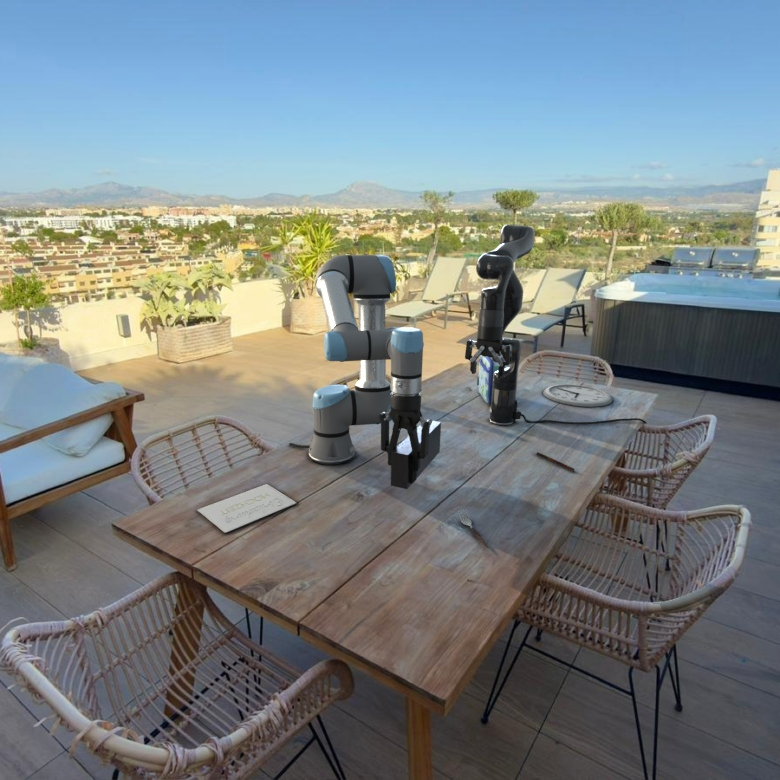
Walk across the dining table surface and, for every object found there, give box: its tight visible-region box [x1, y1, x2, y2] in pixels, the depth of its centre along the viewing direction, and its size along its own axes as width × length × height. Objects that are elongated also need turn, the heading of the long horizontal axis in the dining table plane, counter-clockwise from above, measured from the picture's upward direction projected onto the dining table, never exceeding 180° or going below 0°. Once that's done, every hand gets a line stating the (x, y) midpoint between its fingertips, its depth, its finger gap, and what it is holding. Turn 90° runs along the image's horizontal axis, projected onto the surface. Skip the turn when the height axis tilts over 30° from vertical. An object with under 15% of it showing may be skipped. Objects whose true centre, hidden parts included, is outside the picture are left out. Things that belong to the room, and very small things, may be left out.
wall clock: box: [543, 384, 613, 408], centre depth 240 cm, size 30×2×30 cm
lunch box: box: [476, 355, 509, 406], centre depth 230 cm, size 26×11×21 cm, turn 179°
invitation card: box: [196, 483, 297, 534], centre depth 141 cm, size 21×1×15 cm
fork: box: [457, 509, 489, 549], centre depth 131 cm, size 3×16×2 cm, turn 15°
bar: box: [390, 420, 442, 490], centre depth 141 cm, size 25×4×9 cm, turn 156°
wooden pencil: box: [535, 451, 575, 472], centre depth 171 cm, size 15×1×1 cm, turn 34°
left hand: (403, 478), depth 134 cm, fingers closed on bar, 4 cm apart
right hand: (486, 375), depth 162 cm, fingers open, 8 cm apart
